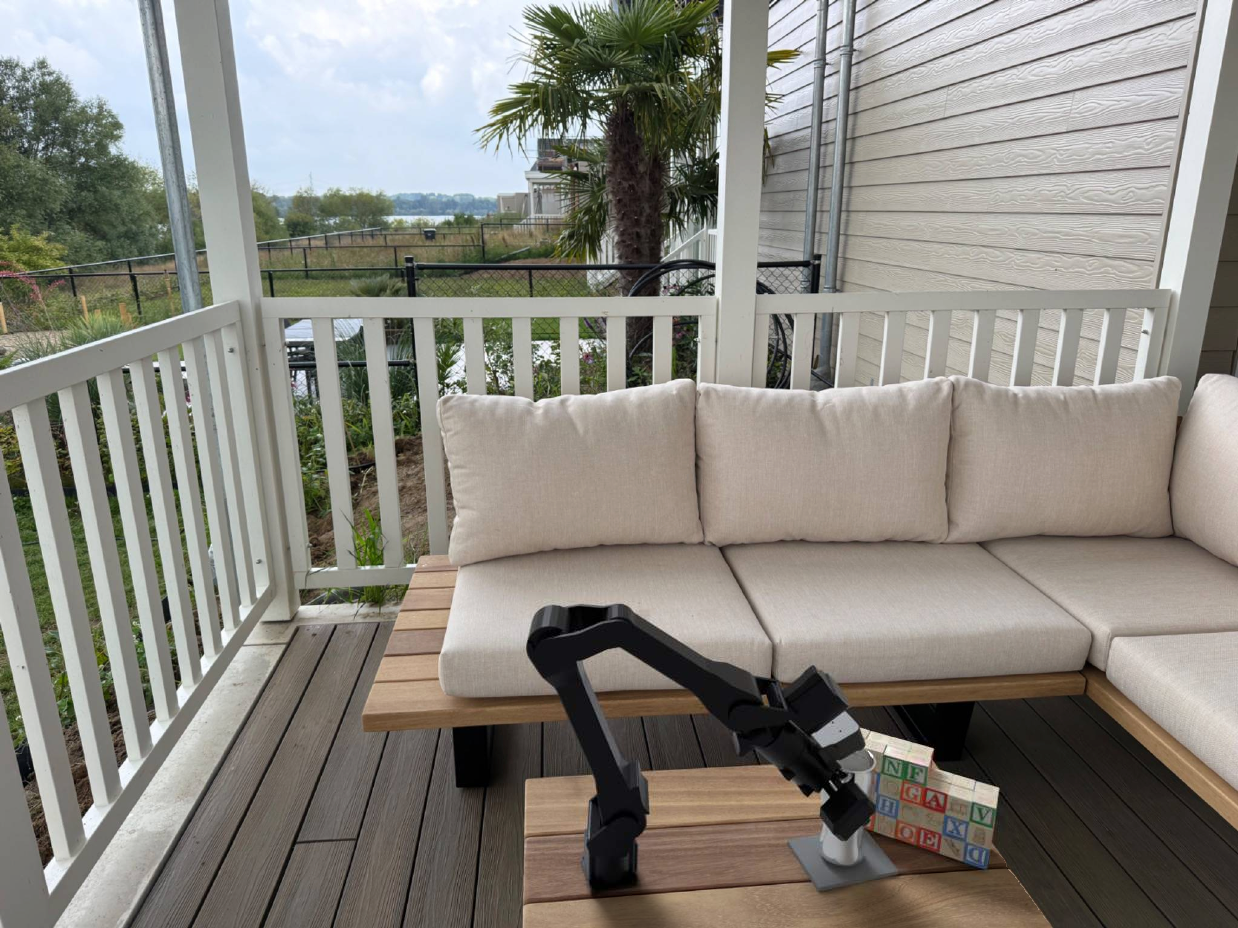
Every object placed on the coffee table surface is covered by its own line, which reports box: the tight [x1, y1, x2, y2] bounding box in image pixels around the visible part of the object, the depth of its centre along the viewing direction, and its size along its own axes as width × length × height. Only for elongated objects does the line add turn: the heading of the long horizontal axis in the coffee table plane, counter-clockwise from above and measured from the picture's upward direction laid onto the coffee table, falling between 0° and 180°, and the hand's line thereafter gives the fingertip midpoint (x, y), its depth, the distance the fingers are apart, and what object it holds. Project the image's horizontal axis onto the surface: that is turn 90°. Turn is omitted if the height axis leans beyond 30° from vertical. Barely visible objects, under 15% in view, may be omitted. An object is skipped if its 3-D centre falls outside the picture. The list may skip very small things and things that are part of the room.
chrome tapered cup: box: [818, 748, 876, 867], centre depth 110 cm, size 7×7×15 cm
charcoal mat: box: [787, 828, 899, 892], centre depth 112 cm, size 12×9×1 cm
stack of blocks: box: [860, 727, 1000, 870], centre depth 116 cm, size 21×6×12 cm, turn 60°
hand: (854, 805), depth 110 cm, fingers closed on chrome tapered cup, 6 cm apart
